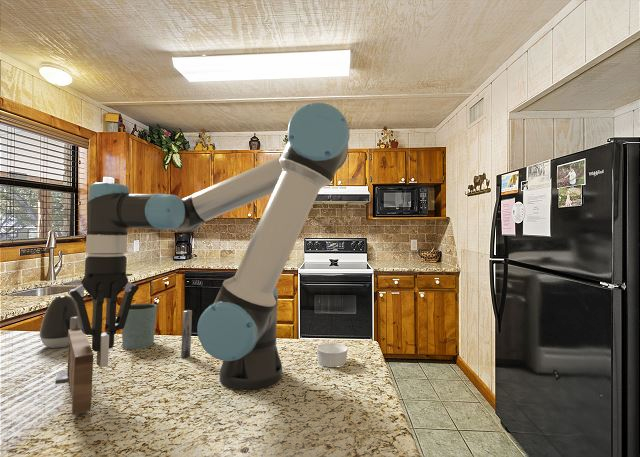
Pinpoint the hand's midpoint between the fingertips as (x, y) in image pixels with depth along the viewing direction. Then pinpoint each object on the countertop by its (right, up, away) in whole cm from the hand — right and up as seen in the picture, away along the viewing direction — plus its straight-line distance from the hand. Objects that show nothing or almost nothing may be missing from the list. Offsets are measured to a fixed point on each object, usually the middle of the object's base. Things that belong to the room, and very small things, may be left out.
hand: (102, 364), depth 70 cm
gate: (-5, -5, -1) cm, 7 cm away
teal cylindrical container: (-10, -7, +32) cm, 35 cm away
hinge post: (-13, -6, +9) cm, 17 cm away
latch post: (+8, -7, +23) cm, 26 cm away
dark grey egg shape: (-33, -7, +30) cm, 45 cm away
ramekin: (+50, -9, +22) cm, 55 cm away
